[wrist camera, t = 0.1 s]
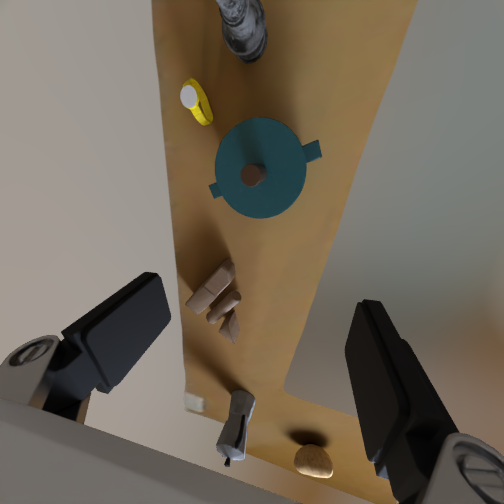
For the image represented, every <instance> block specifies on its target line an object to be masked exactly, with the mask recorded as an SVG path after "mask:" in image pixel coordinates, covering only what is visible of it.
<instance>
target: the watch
mask: <svg viewBox="0 0 504 504" xmlns="http://www.w3.org/2000/svg"><path fill="white" fill-rule="evenodd" d="M180 98H181V102H182V104H183V105H184V106H185V107H186V108H188V109H190V110H191V112H192V113H193V115H194V117H195V118H196V119H197V120H198V122H199V123H200V124H202V125H203V126H206V125H208V124H210V123H211V122H213V114H212V111H211V108H210V105H209V102H208V99H207V96H206V94H205V93H204V91H203V89H202V87H201V86H200V85H199V83H198V82H197V81H196V80H194V79H193V78H191V79H190V80H188V81H186V82H185V83H184V84H183V88H182V90H181V94H180ZM199 101H200V102H201V105H202V108H203V111H204V114H205V115H204V114H203V113H202V111H201V109H200V108H199V106H198V103H199Z"/></svg>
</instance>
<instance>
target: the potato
mask: <svg viewBox="0 0 504 504" xmlns="http://www.w3.org/2000/svg"><path fill="white" fill-rule="evenodd" d="M294 465H295V467H296V469H297V470H298V471H299V472H301V473H302V474H306V475H310V476H314V477H322V478H329V477H331V476H332V473H333V465H332V461H331V459H330V457H329V455H328V454H327V453H326V452H325V450H324V449H322V448H321V447H319V446H317V445H314V444H308V445H305V446H303V447H302V448H300V449H299V450H298V452H297V453H296V455H295V459H294Z"/></svg>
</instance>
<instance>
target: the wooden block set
mask: <svg viewBox="0 0 504 504" xmlns="http://www.w3.org/2000/svg"><path fill="white" fill-rule="evenodd" d="M234 276H235V268H234V264H233V263H232V262H231V261H230V260H229V259H226V260H225V261H224V262H223V263H222V264H221V265H220V266H219V267H218V268H217V270H216V271H215V272H214V273H213V274H212V275H211V276H210V277H208V278H207V279H206V280H205V281H204V282H203V284H202V285H201V286H200V287H199V288H198V289H197V290H196V291H195V292H194V294H193V295H192V296H191V297H190V298H189V300H188V301H187V302H186V304H185V305H186V306H187V307H188V308H190V309H191V310H192V311H193V312H195V313H196V314H197V315H199V314H200V313H201V312H202V311H203V310H204V309H205V308H206V307H207V306H208V305H209V304H210V303H211V302H212V301H214V300H215V299H216V298H217V296H218V295H219V294H220V293H221V292H222V291H223V290H224V289H225V288H226V287H227V286H228V285H229V284H230V283H231V281H232V279H233V278H234ZM240 301H241V295H240V293H239V292H237V291H235V290H233V291H231V292H230V293H229V294H228V295H227V296H226V297H225V298H224V299H222V300H221V301H220V302H219V303H218V304H217V305H216V306H215V307H214V308H213V309H212V310H211V311H210V312H209V313H208V314H207V316H206V319H207V321H208V322H209V323H215V322H217V321H218V320H219V319H220V318H221V317H222V316H223V315H225V314H226V313H227V312H228V311H229V310H230V309H232V308H233V307H234V306H235V305H236V304H237V303H239V302H240ZM219 332H220V333H221V334H222V335H223V336H225V337H226V338H227V339H228V340H230V341H231V342H232V343H233V344H235V341H236V338H237V336H238V333H239V326H238V322H237V318H236V314H235V311H233V312H232V313H231V314H230V315H229V316H227V317H226V318H225V320H224V322H223V324H222V326H221V328H220V330H219Z"/></svg>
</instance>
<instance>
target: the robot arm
mask: <svg viewBox="0 0 504 504" xmlns="http://www.w3.org/2000/svg"><path fill="white" fill-rule="evenodd" d="M170 320H171V313H170V310H169V306H168V302H167V299H166V294H165V291H164V287H163V283H162V279H161V277H160V276H159V275H158V274H157V273H151V272H144V273H143V274H141V275H140V276H139V277H137V278H135V279H134V280H133V281H131V282H130V283H128V284H127V285H126V286H125V287H123V288H122V289H120V290H119V291H118V292H116V293H115V294H113V295H112V296H110V297H109V298H108V299H106V300H105V301H103V302H102V303H101V304H99V305H98V306H96V307H95V308H94V309H92V310H91V311H89V312H88V313H87V314H85V315H84V316H82V317H81V318H80V319H78V320H77V321H76V322H74V323H73V324H71V325H70V326H68V327H67V328H66V329H64V330H63V331H61V333H62V335H63V336H64V338H65V339H63V340H62V341H60V339H59V338H58V337H57V336H55V335H47V336H42V337H39V338H36V339H33V340H31V341H29V342H27V343H25V344H23V345H22V346H21V347H18V348H17V349H16V350H14V351H13V352H12V353H10V354H9V355H8V357H7V358H6V359H5V360H4V361H3V363H2V364H1V365H0V504H302V503H299V502H297V501H294V500H291V499H289V498H286V497H283V496H280V495H278V494H275V493H272V492H270V491H267V490H264V489H261V488H259V487H256V486H253V485H250V484H247V483H245V482H242V481H239V480H237V479H234V478H231V477H228V476H226V475H223V474H220V473H218V472H215V471H212V470H209V469H207V468H204V467H201V466H198V465H196V464H193V463H190V462H187V461H184V460H182V459H179V458H176V457H173V456H171V455H168V454H165V453H162V452H159V451H157V450H154V449H151V448H148V447H145V446H143V445H140V444H137V443H134V442H132V441H129V440H126V439H123V438H120V437H117V436H115V435H112V434H109V433H106V432H104V431H101V430H98V429H95V428H92V427H89V426H86V425H84V421H85V417H86V412H87V409H88V404H89V400H90V396H91V391H92V390H93V389H94V388H96V389H97V391H100V392H103V393H106V394H108V393H109V392H110V391H111V390H112V389H113V387H114V386H116V385H118V384H119V383H120V382H121V381H122V380H123V378H124V377H125V376H126V375H127V373H128V372H129V371H130V370H131V368H132V367H133V366H134V365H135V364H136V362H137V361H138V360H139V359H140V357H141V356H142V355H143V354H144V353H145V351H146V350H147V349H148V348H149V347H150V345H151V344H152V343H153V342H154V340H155V339H156V338H157V337H158V336H159V334H160V333H161V332H162V330H163V329H164V328H165V327H166V326H167V324H168V323H169V322H170ZM345 357H346V362H347V367H348V371H349V376H350V380H351V385H352V390H353V395H354V399H355V404H356V409H357V413H358V418H359V423H360V427H361V432H362V437H363V441H364V446H365V451H366V455H367V458H368V460H369V461H370V462H373V463H374V466H375V470H376V475H377V476H379V477H382V478H385V479H389V481H390V485H391V489H392V492H393V496H394V497H395V499H396V503H395V504H504V456H503V455H502V454H501V453H499V452H498V451H497V450H496V449H494V448H493V447H491V446H490V445H488V444H486V443H485V442H483V441H482V440H480V439H478V438H475V437H473V436H470V435H468V434H463V433H459V431H458V429H457V427H456V425H455V424H454V422H453V420H452V418H451V417H450V415H449V413H448V412H447V410H446V408H445V406H444V405H443V403H442V401H441V399H440V397H439V396H438V394H437V392H436V390H435V389H434V387H433V385H432V383H431V382H430V380H429V378H428V376H427V375H426V373H425V371H424V370H423V368H422V366H421V364H420V362H419V361H418V359H417V357H416V355H415V354H414V352H413V350H412V348H411V347H410V345H409V344H408V342H407V341H405V340H404V339H401V338H400V336H399V334H398V332H397V330H396V329H395V327H394V325H393V323H392V321H391V319H390V317H389V316H388V314H387V312H386V310H385V308H384V307H383V305H382V303H381V302H380V301H374V300H365V299H364V300H363V301H362V302H358V303H357V306H356V309H355V313H354V317H353V320H352V324H351V327H350V331H349V334H348V339H347V342H346V345H345Z"/></svg>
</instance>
